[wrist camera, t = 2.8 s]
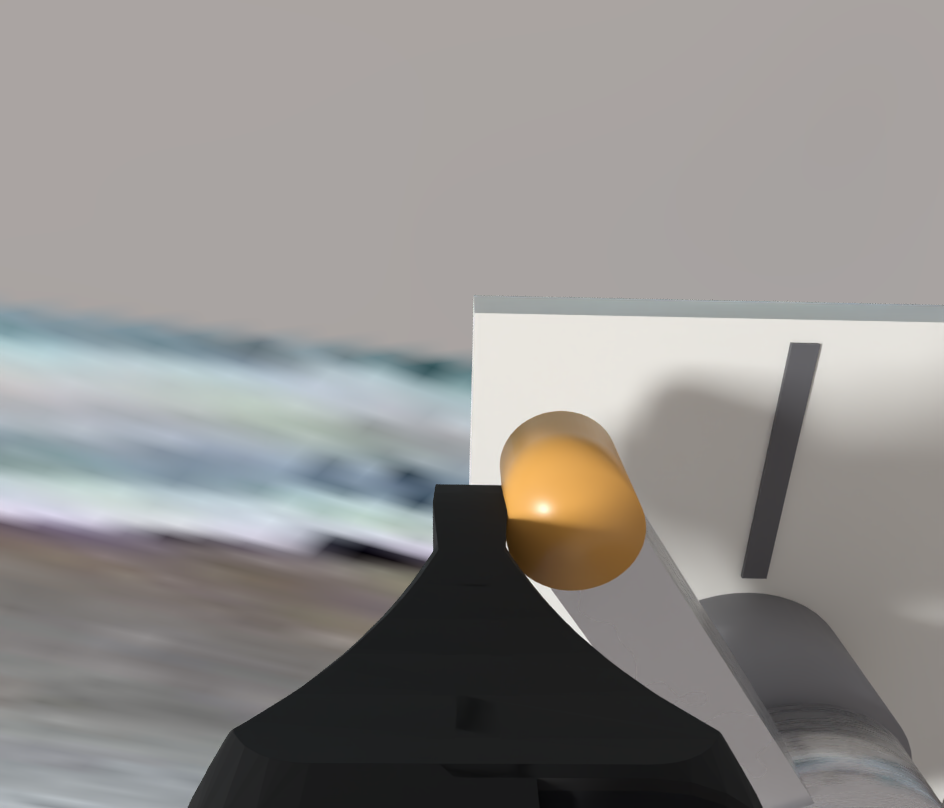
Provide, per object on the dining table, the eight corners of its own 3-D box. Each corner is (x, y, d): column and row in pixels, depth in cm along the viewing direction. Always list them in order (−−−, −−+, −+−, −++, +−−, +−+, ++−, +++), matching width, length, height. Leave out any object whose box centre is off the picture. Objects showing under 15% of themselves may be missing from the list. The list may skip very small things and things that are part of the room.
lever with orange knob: (944, 824, 16) (1023, 941, 13) (718, 910, 17) (756, 1031, 14) (678, 329, 11) (731, 384, 9) (391, 494, 12) (374, 579, 10)
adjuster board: (898, 793, 22) (997, 951, 18) (461, 789, 22) (460, 947, 18) (1081, 308, 16) (1299, 376, 12) (473, 294, 16) (476, 361, 11)
